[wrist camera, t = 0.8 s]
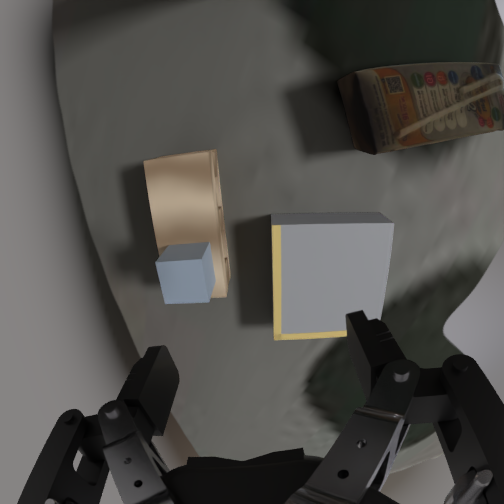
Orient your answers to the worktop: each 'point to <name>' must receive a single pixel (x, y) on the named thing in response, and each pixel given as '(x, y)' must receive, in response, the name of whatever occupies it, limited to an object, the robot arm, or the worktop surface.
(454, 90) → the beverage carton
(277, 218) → the dock
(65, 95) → the worktop surface
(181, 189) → the tan rectangular block
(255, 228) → the worktop surface
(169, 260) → the pale blue cube
